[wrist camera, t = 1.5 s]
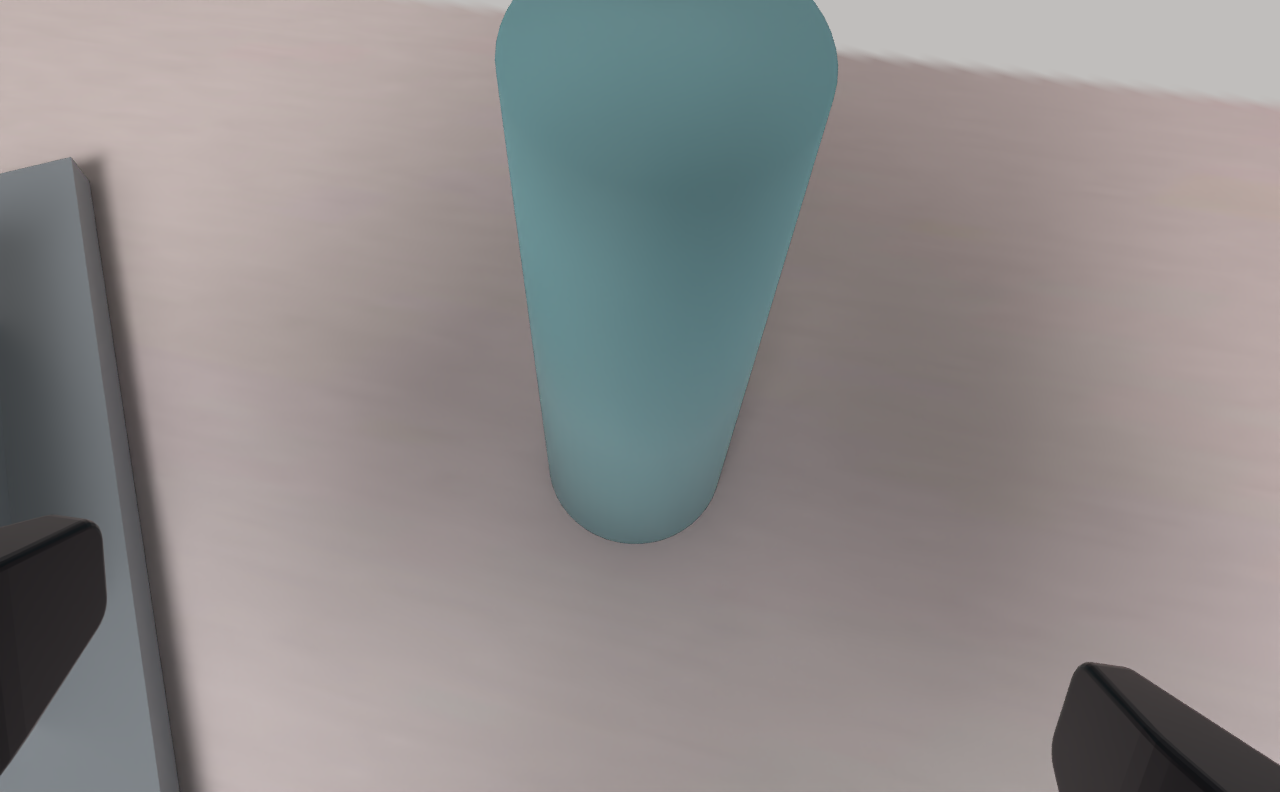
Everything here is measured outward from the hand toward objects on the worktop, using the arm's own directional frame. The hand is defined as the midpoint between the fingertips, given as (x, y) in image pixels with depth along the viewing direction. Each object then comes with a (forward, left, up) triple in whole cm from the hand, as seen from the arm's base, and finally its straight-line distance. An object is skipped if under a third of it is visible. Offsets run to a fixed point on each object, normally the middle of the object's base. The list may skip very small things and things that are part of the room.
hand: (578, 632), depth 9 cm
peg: (+6, -3, -13) cm, 14 cm away
